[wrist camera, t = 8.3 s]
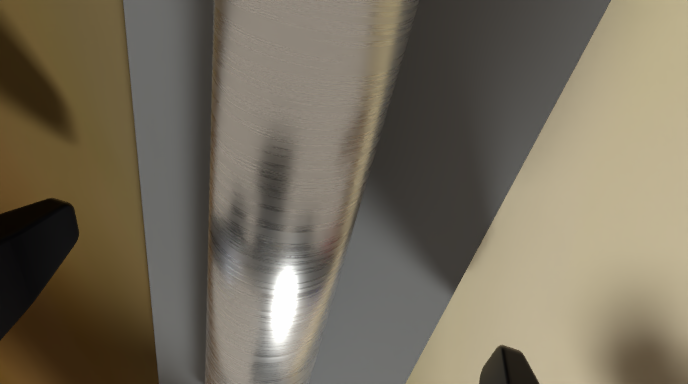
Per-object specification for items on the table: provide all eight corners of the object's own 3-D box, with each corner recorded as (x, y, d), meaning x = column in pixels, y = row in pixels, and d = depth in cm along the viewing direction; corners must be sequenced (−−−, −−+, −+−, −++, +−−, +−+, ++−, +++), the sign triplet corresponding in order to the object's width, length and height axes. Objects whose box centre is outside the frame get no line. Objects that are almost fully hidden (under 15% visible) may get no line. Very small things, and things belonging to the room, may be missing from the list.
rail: (297, 430, 14) (267, 516, 12) (226, 403, 14) (186, 484, 13) (473, -168, 5) (465, -194, 3) (278, -217, 5) (164, -265, 4)
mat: (366, 443, 15) (363, 461, 14) (169, 373, 15) (159, 389, 15) (682, -167, 5) (703, -172, 5) (125, -301, 6) (93, -316, 5)
